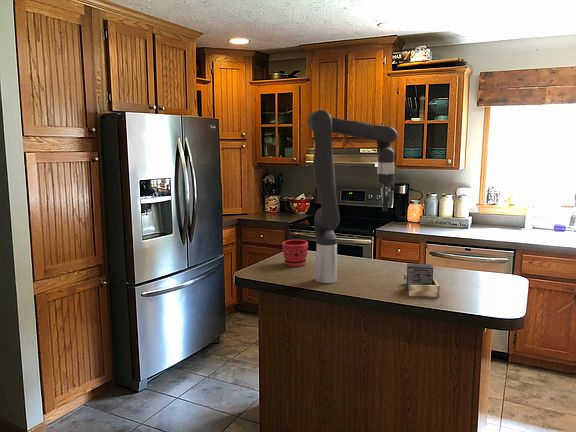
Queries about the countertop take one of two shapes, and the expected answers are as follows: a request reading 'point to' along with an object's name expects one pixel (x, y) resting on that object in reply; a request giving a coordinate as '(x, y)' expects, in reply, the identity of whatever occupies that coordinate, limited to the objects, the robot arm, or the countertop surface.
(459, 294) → the countertop surface
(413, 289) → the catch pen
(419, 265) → the small box
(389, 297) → the countertop surface
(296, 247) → the plant pot
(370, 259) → the countertop surface
